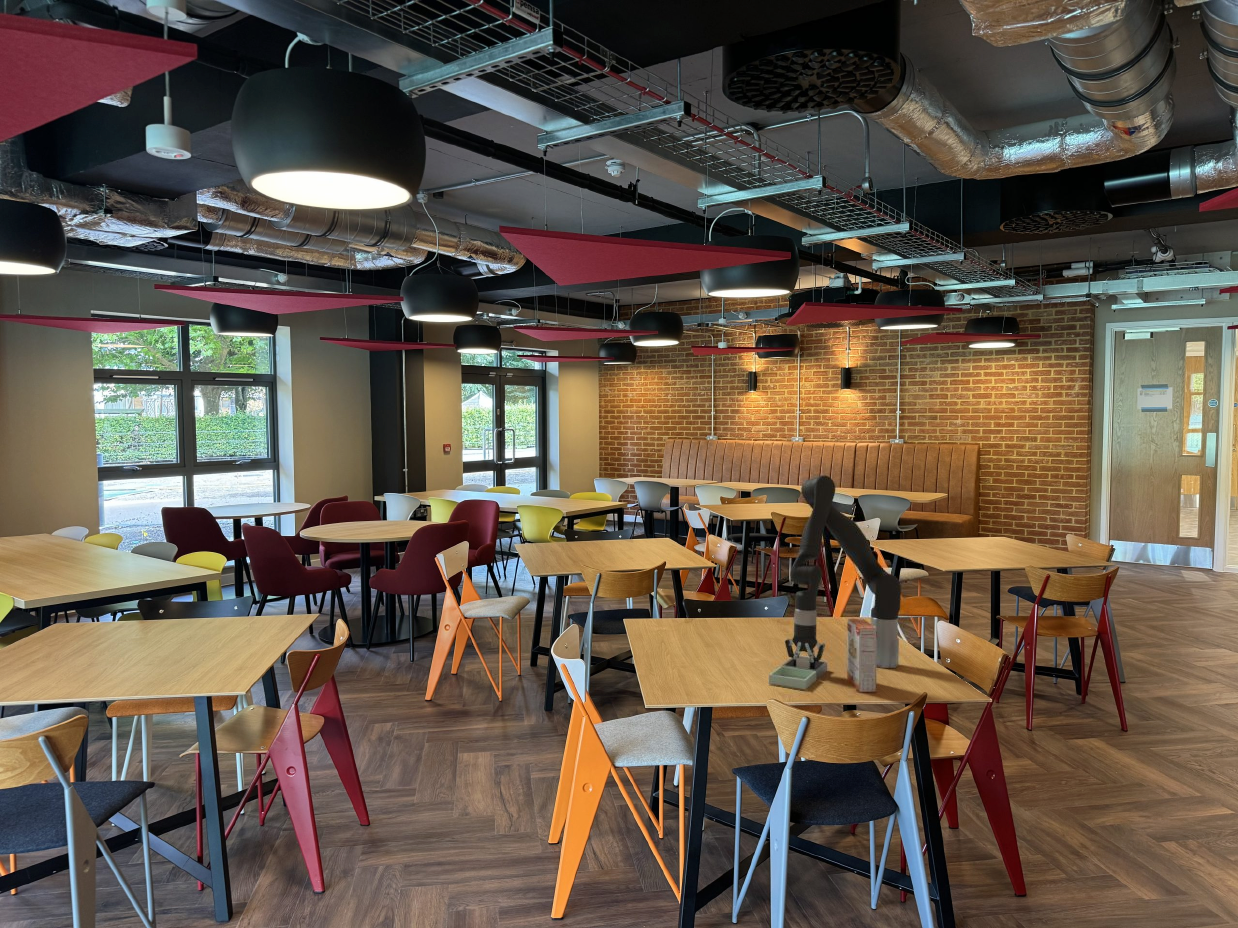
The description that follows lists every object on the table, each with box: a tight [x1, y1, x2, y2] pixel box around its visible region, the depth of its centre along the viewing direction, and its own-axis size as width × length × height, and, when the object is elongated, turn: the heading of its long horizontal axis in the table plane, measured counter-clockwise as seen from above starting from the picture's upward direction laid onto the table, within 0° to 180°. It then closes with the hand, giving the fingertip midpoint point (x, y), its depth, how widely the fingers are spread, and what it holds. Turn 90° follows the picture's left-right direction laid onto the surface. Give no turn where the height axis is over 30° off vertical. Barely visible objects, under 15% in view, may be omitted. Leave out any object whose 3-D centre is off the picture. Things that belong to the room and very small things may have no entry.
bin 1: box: [768, 665, 817, 692], centre depth 259 cm, size 12×12×4 cm
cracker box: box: [846, 618, 877, 693], centre depth 257 cm, size 14×6×21 cm, turn 179°
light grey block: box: [796, 654, 811, 669], centre depth 270 cm, size 4×4×5 cm
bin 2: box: [781, 657, 828, 680], centre depth 270 cm, size 12×12×4 cm
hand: (804, 670), depth 270 cm, fingers closed on light grey block, 4 cm apart
